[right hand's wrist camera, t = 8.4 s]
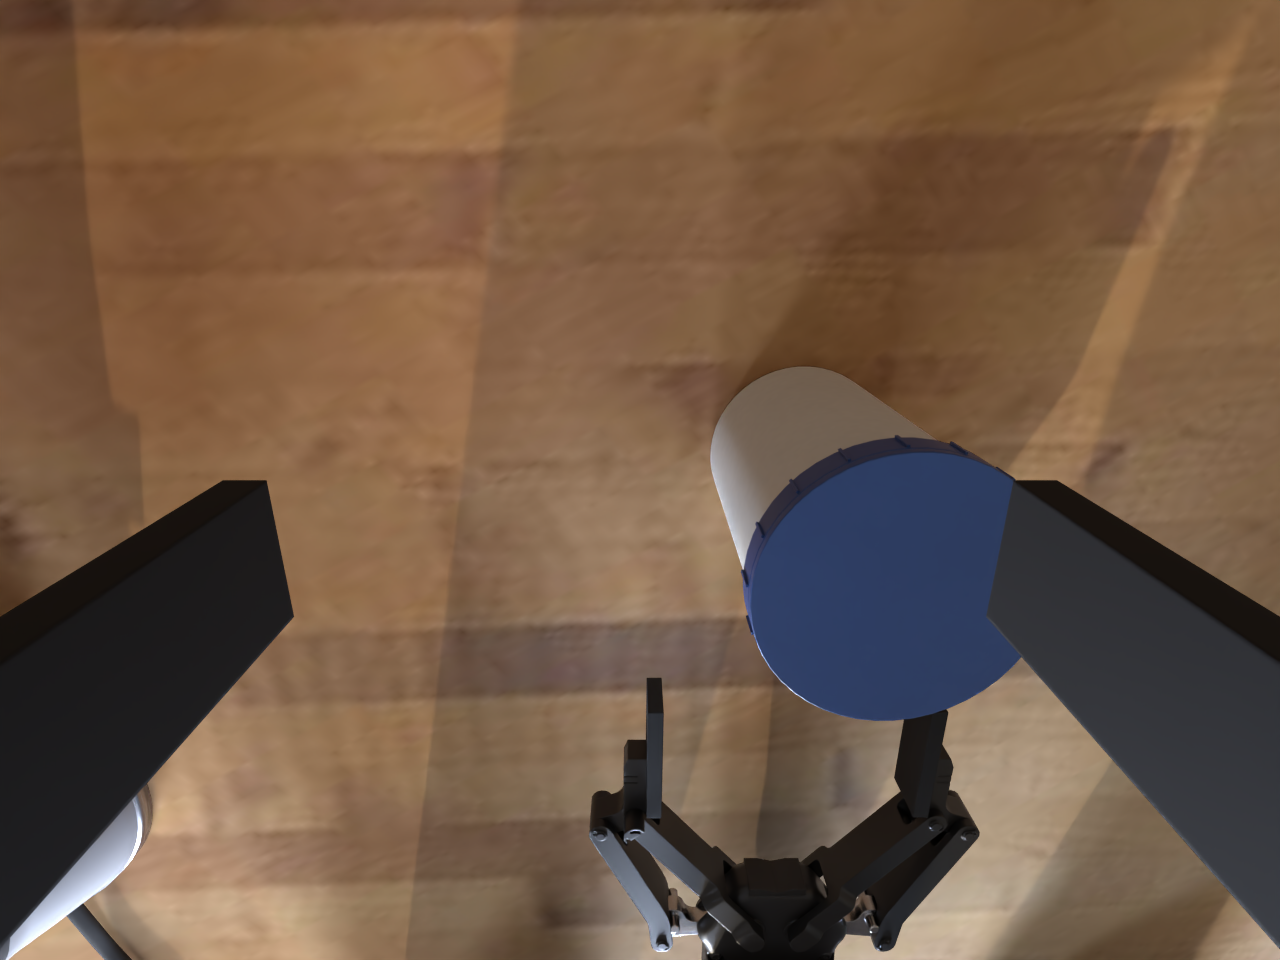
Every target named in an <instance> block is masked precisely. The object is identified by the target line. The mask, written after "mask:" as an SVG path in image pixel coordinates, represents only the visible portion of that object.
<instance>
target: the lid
mask: <svg viewBox="0 0 1280 960" xmlns="http://www.w3.org/2000/svg"><path fill="white" fill-rule="evenodd" d="M1013 480H1015V479H1014V478H1013V477H1012V476H1010V475H1009V474H1007V473H1006V472H1004V471H1003V470H1001V469H1000V468H998V467H996V468H995V467H994V466H992V465H991V464H989V463H988V462H986V461H985V460H983V459H981V458H979V457H978V456H976V455H974V454H973V453H971V452H969V451H967V450H965V449H963V448H961V447H960V446H958V445H957V444H955V443H954V442H950V444H949V443H945V442H941V441H937V440H932V439H924V438H915V437H900V436H899V435H895V438H887V439H879V440H873V441H869V442H865V443H861V444H857V445H854V446H851V447H848V448H846V449H843V450H842V449H841V448H839V449H838V452H836V453H833V454H832V455H830V456H828V457H826V458H824V459H822V460H820V461H818V462H817V463H815V464H814V465H812V466H811V467H809V468H808V469H806V470H805V471H804V472H802V473H801V474H799V475H798V476H797V477H796V478H795V479H794V480H792V479H790V480H789V482H790V483H789V484H788V485H787V486H786V487H785V488H784V489H783V490H782V491H781V492H780V493H779V495H778V496H777V497H776V498H775V499H774V500H773V501H772V503H771V504H770V506H769V507H768V509H767V510H766V511H765V513H764V514H763V516H762V517H761V519H760V521H759V522H756V523H755V525H756V529H755V531H754V533H753V535H752V538H751V541H750V544H749V547H748V550H747V554H746V559H745V564H744V570H741V574H742V577H743V590H744V601H745V605H746V609H747V613H748V615H747V616H746V618H747V621H748V625H749V628H750V632H751V635H753V634H754V637H755V640H756V642H757V645H758V647H759V649H760V652H761V654H762V656H763V658H764V659H765V661H766V662H767V664H768V666H769V667H770V669H771V670H772V671H773V672H774V674H775V675H776V676H777V677H778V678H779V679H780V681H781V682H782V683H783V684H785V685H786V686H787V687H788V688H789V689H790V690H791V691H793V692H794V693H795V694H797V695H798V696H800V697H801V698H803V699H804V700H806V701H807V702H809V703H811V704H813V705H815V706H817V707H819V708H821V709H823V710H826V711H829V712H832V713H835V714H838V715H841V716H846V717H850V718H855V719H863V720H873V721H894V720H902V719H911V718H916V717H920V716H925V715H929V714H933V713H936V712H939V711H942V710H945V709H948V708H950V707H953V706H955V705H957V704H959V703H961V702H964V701H966V700H968V699H969V698H971V697H973V696H975V695H976V694H978V693H980V692H981V691H983V690H985V689H986V688H987V687H989V686H990V685H991V684H993V683H994V682H996V681H997V680H998V679H999V678H1001V677H1002V676H1003V675H1004V674H1005V673H1006V672H1007V671H1008V670H1009V669H1011V668H1012V667H1013V666H1014V665H1015V663H1016V662H1017V661H1018V660H1019V659H1020V658H1021V656H1020V655H1019V653H1018V652H1017V651H1016V650H1015V649H1014V648H1013V647H1012V646H1011V644H1010V643H1009V642H1008V641H1007V640H1006V639H1005V638H1004V636H1003V635H1002V634H1001V633H1000V632H999V631H998V630H997V629H996V627H995V626H994V625H993V624H992V623H991V622H990V621H989V619H988V618H987V617H986V615H987V610H988V605H989V600H990V595H991V590H992V585H993V580H994V575H995V570H996V565H997V560H998V555H999V550H1000V545H1001V540H1002V535H1003V530H1004V525H1005V520H1006V515H1007V510H1008V505H1009V500H1010V495H1011V490H1012V485H1013Z"/></svg>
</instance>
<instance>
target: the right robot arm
mask: <svg viewBox="0 0 1280 960" xmlns="http://www.w3.org/2000/svg"><path fill="white" fill-rule="evenodd" d="M293 617H294V615H293V610H292V605H291V600H290V595H289V590H288V585H287V580H286V575H285V570H284V565H283V560H282V555H281V550H280V545H279V540H278V535H277V530H276V525H275V520H274V515H273V510H272V505H271V500H270V495H269V490H268V485H267V480H223V481H221V482H220V483H218V484H216V485H215V486H213V487H211V488H210V489H208V490H206V491H205V492H203V493H202V494H200V495H198V496H197V497H195V498H193V499H192V500H190V501H188V502H187V503H185V504H184V505H182V506H180V507H179V508H177V509H175V510H174V511H172V512H171V513H169V514H167V515H166V516H164V517H162V518H161V519H159V520H157V521H156V522H154V523H153V524H151V525H149V526H148V527H146V528H144V529H143V530H141V531H139V532H138V533H136V534H135V535H133V536H131V537H130V538H128V539H126V540H125V541H123V542H122V543H120V544H118V545H117V546H115V547H113V548H112V549H110V550H108V551H107V552H105V553H104V554H102V555H100V556H99V557H97V558H95V559H94V560H92V561H90V562H89V563H87V564H86V565H84V566H82V567H81V568H79V569H77V570H76V571H74V572H73V573H71V574H69V575H68V576H66V577H64V578H63V579H61V580H59V581H58V582H56V583H55V584H53V585H51V586H50V587H48V588H46V589H45V590H43V591H41V592H40V593H38V594H37V595H35V596H33V597H32V598H30V599H28V600H27V601H25V602H24V603H22V604H20V605H19V606H17V607H15V608H14V609H12V610H10V611H9V612H7V613H6V614H4V615H2V616H1V617H0V960H8V959H9V958H10V957H12V956H13V955H14V954H15V953H16V952H18V951H19V950H20V949H22V948H23V947H24V946H26V945H27V944H29V943H30V942H31V941H33V940H34V939H35V938H37V937H38V936H40V935H41V934H42V933H44V932H45V931H46V930H48V929H49V928H50V927H52V926H53V925H55V924H56V923H57V922H59V921H60V920H61V919H63V918H64V917H65V916H67V917H68V918H69V920H70V921H71V922H72V923H73V924H74V925H75V927H76V928H77V929H78V930H79V931H80V932H81V934H82V935H83V936H84V937H85V938H86V939H87V941H88V942H89V943H90V944H91V945H92V946H93V947H94V949H95V950H96V951H97V952H98V953H99V954H100V955H101V956H102V957H103V958H104V959H105V960H132V959H131V958H130V957H129V956H128V955H127V954H126V953H125V952H124V951H123V950H122V949H121V948H120V947H119V945H118V944H117V943H116V942H115V941H114V940H113V939H112V938H111V936H110V935H109V934H108V933H107V932H106V930H105V929H104V928H103V927H102V926H101V924H100V923H99V922H98V921H97V920H96V918H95V917H94V916H93V915H92V914H91V912H90V911H89V910H88V909H87V907H86V906H85V905H84V904H83V903H84V902H85V901H86V900H88V899H89V898H90V897H92V896H94V895H95V894H97V893H98V892H100V891H101V890H102V889H104V888H105V887H106V886H107V885H108V884H109V883H110V882H111V881H113V880H114V879H115V878H116V877H117V876H118V875H119V874H120V873H121V872H122V871H123V870H124V869H125V867H126V866H127V865H128V864H129V862H130V861H131V860H132V859H133V857H134V856H135V855H136V854H137V852H138V851H139V850H140V849H141V847H142V846H143V844H144V843H145V841H146V839H147V837H148V834H149V832H150V828H151V824H152V817H153V808H152V800H151V795H150V792H149V788H148V786H147V782H148V781H149V780H150V779H151V778H152V777H153V776H154V775H155V773H156V772H157V771H158V770H159V769H160V768H161V767H162V765H163V764H164V763H165V762H166V761H167V760H168V759H169V758H170V756H171V755H172V754H173V753H174V752H175V751H176V750H177V748H178V747H179V746H180V745H181V744H182V743H183V742H184V741H185V739H186V738H187V737H188V736H189V735H190V734H191V733H192V732H193V730H194V729H195V728H196V727H197V726H198V725H199V724H200V722H201V721H202V720H203V719H204V718H205V717H206V716H207V715H208V713H209V712H210V711H211V710H212V709H213V708H214V707H215V705H216V704H217V703H218V702H219V701H220V700H221V699H222V698H223V696H224V695H225V694H226V693H227V692H228V691H229V690H230V689H231V687H232V686H233V685H234V684H235V683H236V682H237V681H238V679H239V678H240V677H241V676H242V675H243V674H244V673H245V672H246V670H247V669H248V668H249V667H250V666H251V665H252V664H253V662H254V661H255V660H256V659H257V658H258V657H259V656H260V655H261V653H262V652H263V651H264V650H265V649H266V648H267V647H268V646H269V644H270V643H271V642H272V641H273V640H274V639H275V638H276V636H277V635H278V634H279V633H280V632H281V631H282V630H283V629H284V627H285V626H286V625H287V624H288V623H289V622H290V621H291V619H292V618H293ZM986 617H987V618H988V619H989V621H990V622H991V623H992V624H993V625H994V626H995V627H996V629H997V630H998V631H999V632H1000V633H1001V634H1002V635H1003V636H1004V638H1005V639H1006V640H1007V641H1008V642H1009V643H1010V644H1011V646H1012V647H1013V648H1014V649H1015V650H1016V651H1017V652H1018V653H1019V655H1020V656H1021V657H1022V658H1023V659H1024V660H1025V661H1026V662H1027V664H1028V665H1029V666H1030V667H1031V668H1032V669H1033V670H1034V672H1035V673H1036V674H1037V675H1038V676H1039V677H1040V678H1041V679H1042V681H1043V682H1044V683H1045V684H1046V685H1047V686H1048V687H1049V689H1050V690H1051V691H1052V692H1053V693H1054V694H1055V695H1056V696H1057V698H1058V699H1059V700H1060V701H1061V702H1062V703H1063V704H1064V705H1065V707H1066V708H1067V709H1068V710H1069V711H1070V712H1071V713H1072V715H1073V716H1074V717H1075V718H1076V719H1077V720H1078V721H1079V722H1080V724H1081V725H1082V726H1083V727H1084V728H1085V729H1086V730H1087V732H1088V733H1089V734H1090V735H1091V736H1092V737H1093V738H1094V739H1095V741H1096V742H1097V743H1098V744H1099V745H1100V746H1101V747H1102V748H1103V750H1104V751H1105V752H1106V753H1107V754H1108V755H1109V756H1110V758H1111V759H1112V760H1113V761H1114V762H1115V763H1116V764H1117V765H1118V767H1119V768H1120V769H1121V770H1122V771H1123V772H1124V773H1125V775H1126V776H1127V777H1128V778H1129V779H1130V780H1131V781H1132V782H1133V784H1134V785H1135V786H1136V787H1137V788H1138V789H1139V790H1140V792H1141V793H1142V794H1143V795H1144V796H1145V797H1146V798H1147V799H1148V801H1149V802H1150V803H1151V804H1152V805H1153V806H1154V807H1155V808H1156V810H1157V811H1158V812H1159V813H1160V814H1161V815H1162V816H1163V818H1164V819H1165V820H1166V821H1167V822H1168V823H1169V824H1170V825H1171V827H1172V828H1173V829H1174V830H1175V831H1176V832H1177V833H1178V835H1179V836H1180V837H1181V838H1182V839H1183V840H1184V841H1185V842H1186V844H1187V845H1188V846H1189V847H1190V848H1191V849H1192V850H1193V851H1194V853H1195V854H1196V855H1197V856H1198V857H1199V858H1200V859H1201V861H1202V862H1203V863H1204V864H1205V865H1206V866H1207V867H1208V868H1209V870H1210V871H1211V872H1212V873H1213V874H1214V875H1215V876H1216V878H1217V879H1218V880H1219V881H1220V882H1221V883H1222V884H1223V885H1224V887H1225V888H1226V889H1227V890H1228V891H1229V892H1230V893H1231V894H1232V896H1233V897H1234V898H1235V899H1236V900H1237V901H1238V902H1239V904H1240V905H1241V906H1242V907H1243V908H1244V909H1245V910H1246V911H1247V913H1248V914H1249V915H1250V916H1251V917H1252V918H1253V919H1254V921H1255V922H1256V923H1257V924H1258V925H1259V926H1260V927H1261V928H1262V930H1263V931H1264V932H1265V933H1266V934H1267V935H1268V936H1269V937H1270V939H1271V940H1272V941H1273V942H1274V943H1275V944H1276V945H1277V947H1278V948H1279V949H1280V617H1279V616H1278V615H1276V614H1274V613H1273V612H1271V611H1270V610H1268V609H1266V608H1265V607H1263V606H1261V605H1260V604H1258V603H1256V602H1255V601H1253V600H1252V599H1250V598H1248V597H1247V596H1245V595H1243V594H1242V593H1240V592H1239V591H1237V590H1235V589H1234V588H1232V587H1230V586H1229V585H1227V584H1225V583H1224V582H1222V581H1221V580H1219V579H1217V578H1216V577H1214V576H1212V575H1211V574H1209V573H1207V572H1206V571H1204V570H1203V569H1201V568H1199V567H1198V566H1196V565H1194V564H1193V563H1191V562H1190V561H1188V560H1186V559H1185V558H1183V557H1181V556H1180V555H1178V554H1176V553H1175V552H1173V551H1172V550H1170V549H1168V548H1167V547H1165V546H1163V545H1162V544H1160V543H1158V542H1157V541H1155V540H1154V539H1152V538H1150V537H1149V536H1147V535H1145V534H1144V533H1142V532H1141V531H1139V530H1137V529H1136V528H1134V527H1132V526H1131V525H1129V524H1127V523H1126V522H1124V521H1123V520H1121V519H1119V518H1118V517H1116V516H1114V515H1113V514H1111V513H1109V512H1108V511H1106V510H1105V509H1103V508H1101V507H1100V506H1098V505H1096V504H1095V503H1093V502H1092V501H1090V500H1088V499H1087V498H1085V497H1083V496H1082V495H1080V494H1078V493H1077V492H1075V491H1074V490H1072V489H1070V488H1069V487H1067V486H1065V485H1064V484H1062V483H1060V482H1059V481H1057V480H1013V485H1012V490H1011V495H1010V500H1009V505H1008V510H1007V515H1006V520H1005V525H1004V530H1003V535H1002V540H1001V545H1000V550H999V555H998V560H997V565H996V570H995V575H994V580H993V585H992V590H991V595H990V600H989V605H988V610H987V615H986Z"/></svg>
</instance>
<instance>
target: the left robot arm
mask: <svg viewBox="0 0 1280 960" xmlns="http://www.w3.org/2000/svg"><path fill="white" fill-rule="evenodd" d="M947 717H948V711H947V710H946V709H945V710H942V711H939V712H936V713H933V714H929V715H925V716H920V717H916V718H911V719H904V723H903V729H902V735H901V741H900V747H899V753H898V759H897V765H896V770H895V776H894V778H895V780H896V782H897V784H898V787H899V789H900V791H901V792H899V793H898V794H897V795H896V796H894V797H893V798H892V799H891V800H889V801H888V802H887V803H886V804H884V805H883V806H882V807H881V808H879V809H878V810H877V811H876V812H874V813H873V814H872V815H871V816H869V817H868V818H867V819H866V820H864V821H863V822H862V823H861V824H859V825H858V826H857V827H856V828H854V829H853V830H852V831H851V832H849V833H848V834H847V835H846V836H844V837H843V838H842V839H841V840H839V841H838V842H837V843H836V844H834V845H833V846H832V847H830V848H827V847H825V846H821V847H819V848H818V849H817V850H815V851H814V852H813V853H812V854H810V855H809V856H808V857H807V858H805V859H804V860H803V861H802V862H801V863H799V859H798V858H783V859H778V860H773V861H768V860H763V859H758V858H744V863H740V864H738V865H736V864H735V863H734V862H733V861H732V860H731V859H730V858H729V857H728V856H727V855H726V854H725V853H723V852H722V851H721V850H720V849H719V848H718V847H717V846H714V847H713V848H711V847H710V846H709V845H708V844H707V843H706V842H705V841H704V840H703V839H702V838H701V837H699V836H698V835H697V834H696V833H695V832H694V831H693V830H692V829H691V828H690V827H689V826H688V825H687V824H686V823H685V822H683V821H682V820H681V819H680V818H679V817H678V816H677V815H676V814H675V813H674V812H673V811H672V810H671V809H670V808H668V807H667V806H666V805H665V804H664V803H663V802H662V762H663V718H664V711H663V695H662V680H661V678H647V699H646V740H628V741H627V743H626V745H625V747H624V786H623V788H622V789H621V790H620V791H619V792H617V793H615V794H611V793H609V792H607V791H598V792H596V793H594V795H593V796H592V803H591V815H590V831H589V837H590V839H591V841H592V842H593V844H594V845H595V847H596V848H597V850H598V851H599V853H600V854H601V856H602V857H603V858H604V860H605V861H606V863H607V864H608V866H609V867H610V869H611V870H612V872H613V873H614V875H615V876H616V878H617V879H618V880H619V882H620V883H621V885H622V886H623V888H624V889H625V891H626V892H627V894H628V895H629V897H630V898H631V899H632V901H633V902H634V904H635V905H636V907H637V908H638V910H639V911H640V913H641V914H642V916H643V917H644V918H645V920H646V921H647V923H648V926H649V933H650V940H651V946H652V948H653V949H654V950H656V951H658V952H665V951H668V950H670V949H671V948H672V945H673V939H672V936H680V935H692V934H698V936H699V938H700V939H701V940H702V942H703V943H702V960H834V951H835V948H836V947H837V945H838V944H839V943H840V942H841V941H842V940H843V938H844V937H845V935H846V934H850V935H863V936H871V939H872V942H873V945H874V947H875V949H876V950H878V951H888V950H891V949H892V948H893V947H894V946H895V944H896V941H897V938H898V935H899V932H900V929H901V926H902V924H903V922H904V921H905V920H906V919H907V918H908V917H909V916H910V914H911V913H912V912H913V911H914V910H915V909H916V908H917V907H918V905H919V904H920V903H921V902H922V901H923V900H924V899H925V897H926V896H927V895H928V894H929V893H930V892H931V891H932V890H933V888H934V887H935V886H936V885H937V884H938V883H939V882H940V880H941V879H942V878H943V877H944V876H945V875H946V874H947V873H948V871H949V870H950V869H951V868H952V867H953V866H954V865H955V863H956V862H957V861H958V860H959V859H960V858H961V857H962V856H963V854H964V853H965V852H966V851H967V850H968V849H969V848H970V847H971V845H972V844H973V843H974V842H975V841H976V840H977V838H978V837H979V830H978V828H977V827H976V825H975V823H974V821H973V819H972V818H971V816H970V814H969V812H968V811H967V809H966V807H965V805H964V804H963V802H962V800H961V799H960V797H959V795H958V793H956V792H955V791H951V790H949V786H950V781H951V776H952V771H953V764H952V761H951V758H950V757H949V755H948V753H947V752H946V750H945V748H944V747H943V745H942V742H943V737H944V732H945V727H946V722H947ZM650 853H651V854H652V855H653V856H654V857H655V858H656V859H658V860H659V861H660V862H661V863H662V864H663V865H664V866H665V867H667V868H668V869H669V870H670V871H671V872H672V873H673V874H674V875H675V876H677V877H678V878H679V879H680V880H681V881H682V882H683V883H684V884H685V885H687V886H688V887H689V888H690V889H691V890H692V891H693V892H694V893H695V894H697V895H698V896H699V897H700V899H699V900H698V902H697V904H696V907H690V906H687V905H686V904H685V903H684V901H683V899H682V898H681V897H679V896H678V892H677V890H676V889H675V888H670V889H669V888H668V883H667V881H666V878H665V876H664V874H663V872H662V871H661V869H660V868H659V866H658V865H657V863H656V862H655V860H654V859H653V857H652V856H651V854H650ZM822 875H823V876H824V879H825V883H826V885H825V884H824V883H823V882H822V880H821V879H820V877H821V876H822ZM857 897H858V899H857V900H856V898H857Z"/></svg>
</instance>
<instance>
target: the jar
mask: <svg viewBox="0 0 1280 960" xmlns="http://www.w3.org/2000/svg"><path fill="white" fill-rule="evenodd" d="M895 435H899V436H900V437H915V438H924V439H932V440H936V439H935V438H934V437H932V436H931V435H929V434H928V433H926V432H925V431H924V430H922V429H921V428H919V427H918V426H916V425H915V424H913V423H912V422H911V421H909V420H908V419H906V418H905V417H903V416H902V415H901V414H899V413H898V412H896V411H895V410H893V409H892V408H891V407H889V406H888V405H886V404H885V403H883V402H882V401H881V400H879V399H878V398H876V397H875V396H873V395H872V394H870V393H869V392H868V391H866V390H865V389H863V388H862V387H860V386H859V385H858V384H856V383H855V382H853V381H852V380H850V379H848V378H847V377H845V376H843V375H841V374H839V373H836V372H834V371H831V370H827V369H823V368H818V367H792V368H785V369H781V370H778V371H774V372H772V373H769V374H767V375H764V376H762V377H761V378H759V379H757V380H755V381H753V382H752V383H751V384H749V385H748V386H746V387H745V388H744V389H743V390H741V391H740V392H739V393H738V394H737V395H736V396H735V397H734V398H733V400H732V401H731V402H730V403H729V404H728V406H727V407H726V409H725V410H724V412H723V413H722V415H721V417H720V419H719V421H718V423H717V425H716V428H715V431H714V434H713V438H712V444H711V457H710V460H711V469H712V473H713V477H714V481H715V484H716V487H717V490H718V493H719V496H720V500H721V503H722V506H723V509H724V512H725V515H726V518H727V521H728V524H729V528H730V531H731V534H732V537H733V540H734V543H735V546H736V549H737V552H738V555H739V559H740V562H741V565H742V568H743V570H744V564H745V559H746V554H747V550H748V547H749V544H750V541H751V538H752V535H753V533H754V531H755V529H756V525H755V523H756V522H759V521H760V519H761V517H762V516H763V514H764V513H765V511H766V510H767V509H768V507H769V506H770V504H771V503H772V501H773V500H774V499H775V498H776V497H777V496H778V495H779V493H780V492H781V491H782V490H783V489H784V488H785V487H786V486H787V485H788V484H789V483H790V482H789V480H790V479H792V480H794V479H795V478H796V477H797V476H798V475H799V474H801V473H802V472H804V471H805V470H806V469H808V468H809V467H811V466H812V465H814V464H815V463H817V462H818V461H820V460H822V459H824V458H826V457H828V456H830V455H832V454H833V453H836V452H838V449H839V448H841V449H842V450H843V449H846V448H848V447H851V446H854V445H857V444H861V443H865V442H869V441H873V440H879V439H887V438H895ZM937 441H938V440H937Z"/></svg>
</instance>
